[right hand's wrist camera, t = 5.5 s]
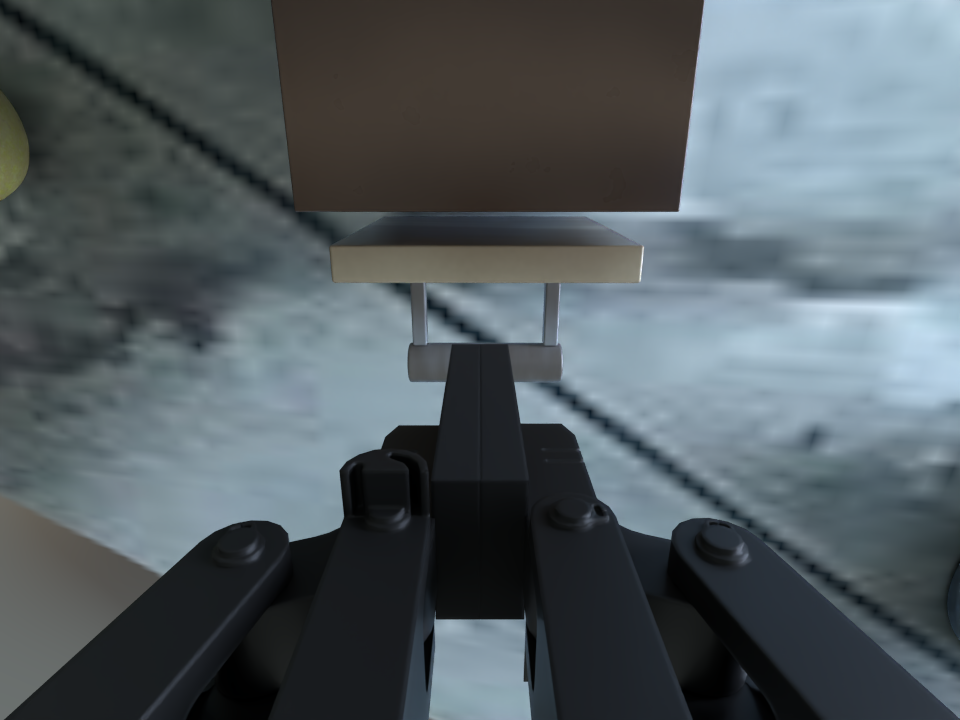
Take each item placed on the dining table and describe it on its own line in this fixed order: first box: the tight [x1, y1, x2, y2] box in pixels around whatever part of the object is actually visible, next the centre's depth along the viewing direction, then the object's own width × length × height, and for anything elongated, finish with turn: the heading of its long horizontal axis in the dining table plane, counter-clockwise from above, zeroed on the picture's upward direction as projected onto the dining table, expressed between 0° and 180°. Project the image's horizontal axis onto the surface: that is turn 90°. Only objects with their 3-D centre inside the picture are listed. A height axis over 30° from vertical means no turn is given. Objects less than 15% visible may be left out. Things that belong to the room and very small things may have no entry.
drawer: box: [329, 217, 644, 382], centre depth 19 cm, size 26×10×10 cm, turn 0°
